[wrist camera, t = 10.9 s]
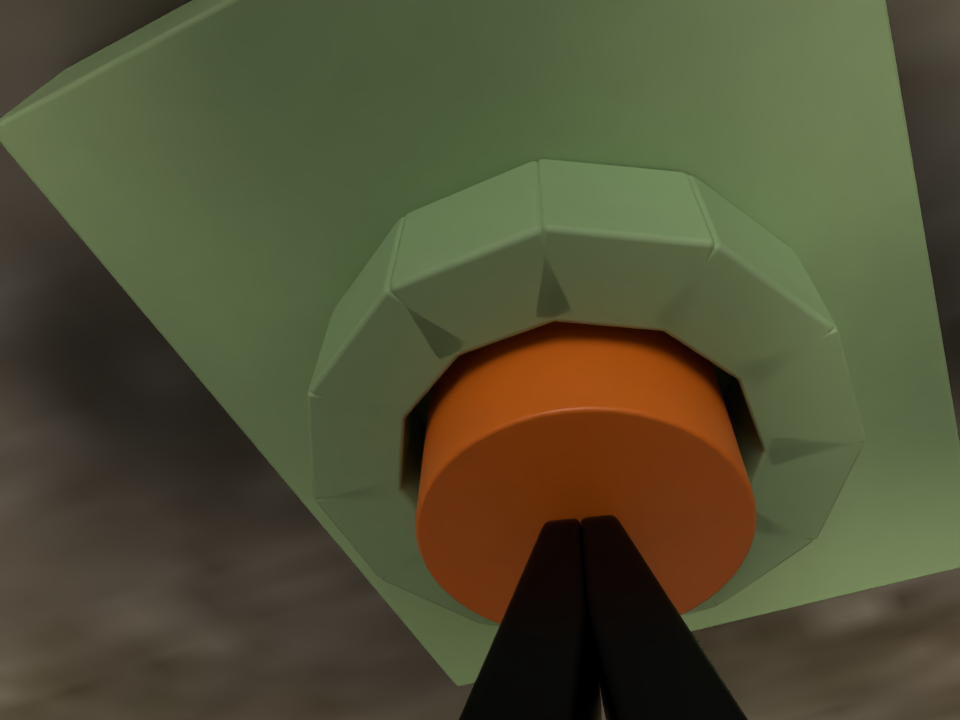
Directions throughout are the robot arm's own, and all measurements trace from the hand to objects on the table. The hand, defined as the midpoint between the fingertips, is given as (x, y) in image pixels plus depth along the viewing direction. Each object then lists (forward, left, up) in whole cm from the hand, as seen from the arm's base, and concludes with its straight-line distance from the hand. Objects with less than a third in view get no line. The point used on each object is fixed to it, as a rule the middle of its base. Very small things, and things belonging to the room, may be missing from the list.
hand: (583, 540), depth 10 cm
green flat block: (0, 0, -5) cm, 5 cm away
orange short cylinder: (0, 0, -3) cm, 3 cm away
